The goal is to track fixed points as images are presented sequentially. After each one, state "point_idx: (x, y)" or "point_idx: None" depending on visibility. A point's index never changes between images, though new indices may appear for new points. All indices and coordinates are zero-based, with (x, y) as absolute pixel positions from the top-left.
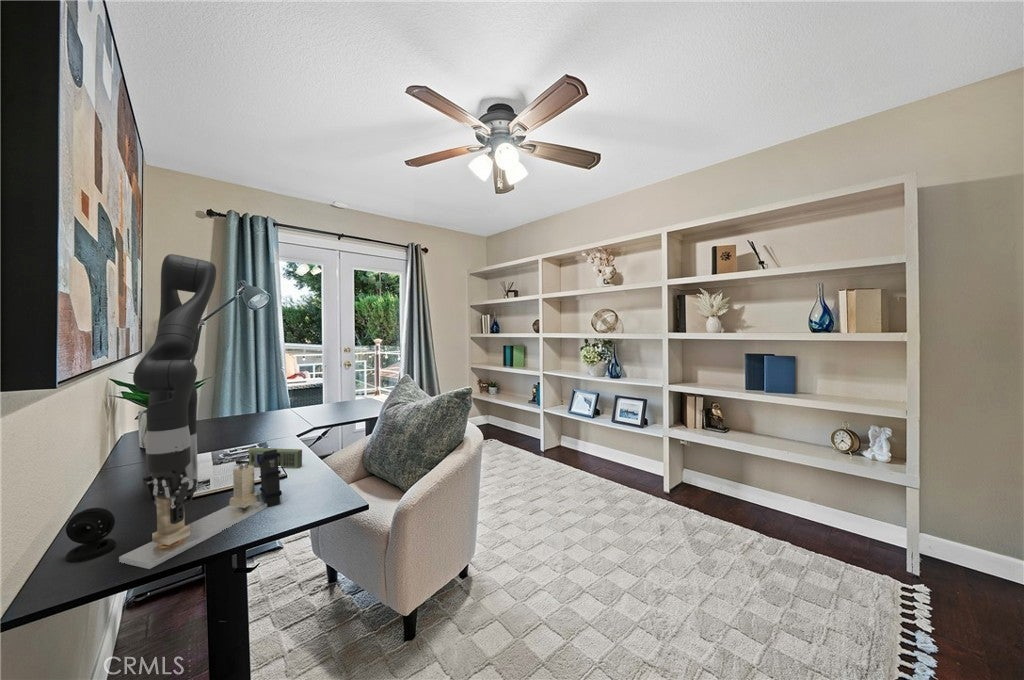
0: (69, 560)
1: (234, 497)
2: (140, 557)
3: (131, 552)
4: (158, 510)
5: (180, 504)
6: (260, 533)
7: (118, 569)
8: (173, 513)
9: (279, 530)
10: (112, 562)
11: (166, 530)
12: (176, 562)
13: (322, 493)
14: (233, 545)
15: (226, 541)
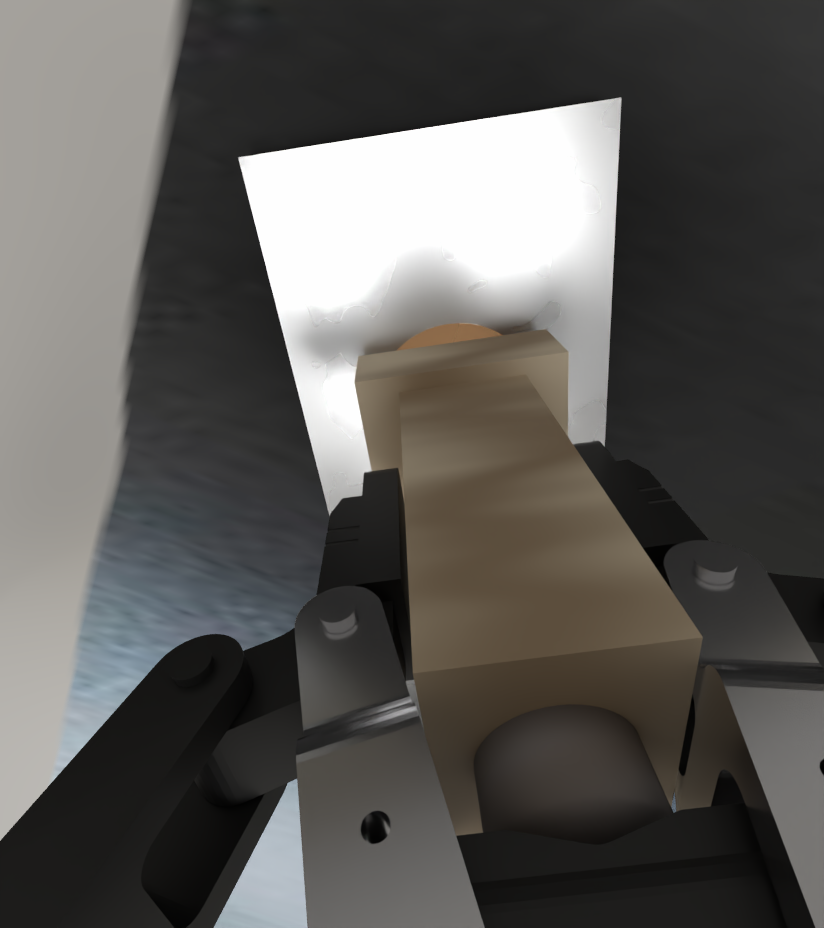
0: None
1: None
2: (422, 178)
3: (591, 189)
4: (572, 499)
5: (147, 678)
6: (125, 660)
7: (487, 37)
8: (363, 545)
9: (71, 705)
10: (660, 77)
11: (405, 407)
12: (182, 299)
13: (296, 906)
14: (103, 548)
15: (197, 554)
